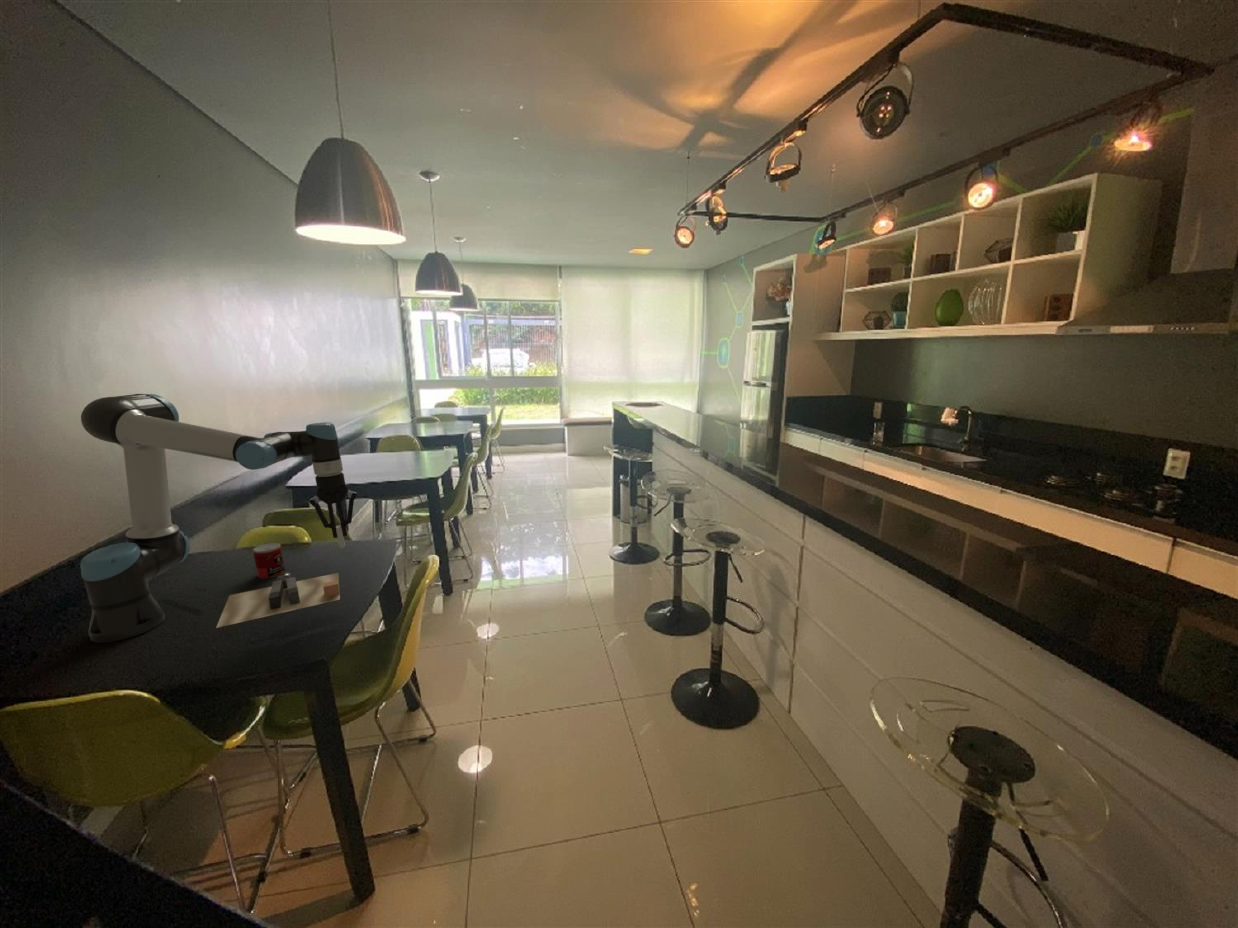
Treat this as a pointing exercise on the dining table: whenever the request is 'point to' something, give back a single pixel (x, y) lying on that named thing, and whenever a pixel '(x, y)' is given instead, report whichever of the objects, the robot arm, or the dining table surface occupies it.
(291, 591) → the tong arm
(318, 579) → the board
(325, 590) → the orange block
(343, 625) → the dining table surface
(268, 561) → the canned food
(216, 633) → the dining table surface
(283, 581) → the tongs fixed
